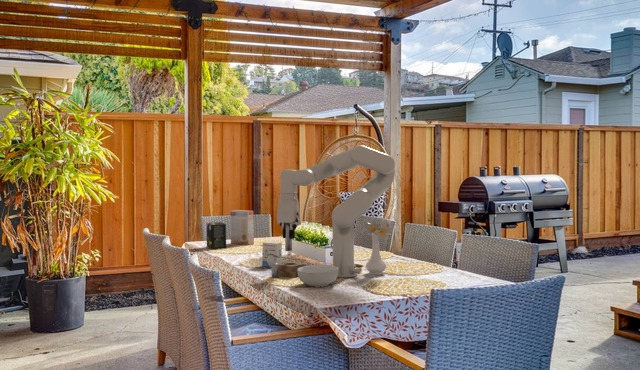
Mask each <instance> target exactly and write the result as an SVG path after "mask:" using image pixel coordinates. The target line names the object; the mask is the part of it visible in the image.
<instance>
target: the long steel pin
mask: <svg viewBox="0 0 640 370" xmlns="http://www.w3.org/2000/svg"><path fill="white" fill-rule="evenodd" d="M289 230H290V223H285V238H284V241H285V242H284V244H285V245H284V247H285V248H284V249H285V250H284V251H285V252H292V251H293V239H289Z"/></svg>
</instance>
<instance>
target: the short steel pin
mask: <svg viewBox="0 0 640 370" xmlns="http://www.w3.org/2000/svg"><path fill="white" fill-rule="evenodd" d="M270 268H271V269H270V270H271V278H272V277H278V278H279V276H278V263H272V264H271V267H270Z"/></svg>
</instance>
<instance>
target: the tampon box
mask: <svg viewBox="0 0 640 370" xmlns="http://www.w3.org/2000/svg"><path fill="white" fill-rule="evenodd" d="M206 248H208V249H210V250H219V249H218V248H224V249H227V224H226V223H225V222H221V221H220V222H218V221H217V222H215V221H214V222H207V223H206Z"/></svg>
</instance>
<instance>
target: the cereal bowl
mask: <svg viewBox="0 0 640 370" xmlns="http://www.w3.org/2000/svg"><path fill="white" fill-rule="evenodd" d="M297 278H298V279H299V281H300V282H302V283H303V284H306V285H308V286H309V285H310V286H309V287H311V286H315V287H314V288H322V287H323V286H324V287H327V286H329V284H332V283H334V282H335V281H336V280H337V279H338V278H339V277H338V267H336V266H333V265H327V264H314V265H313V264H312V265H304V267H300V268H298V277H297ZM320 286H321V287H320Z"/></svg>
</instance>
